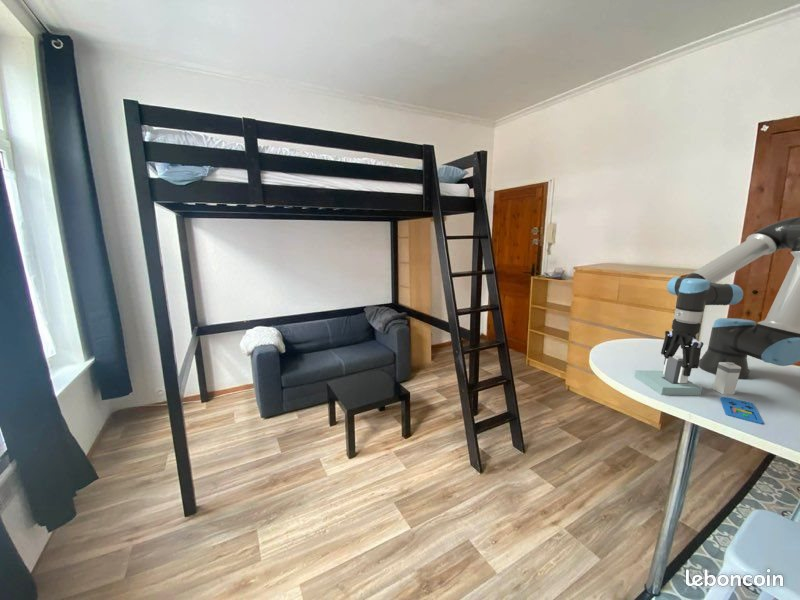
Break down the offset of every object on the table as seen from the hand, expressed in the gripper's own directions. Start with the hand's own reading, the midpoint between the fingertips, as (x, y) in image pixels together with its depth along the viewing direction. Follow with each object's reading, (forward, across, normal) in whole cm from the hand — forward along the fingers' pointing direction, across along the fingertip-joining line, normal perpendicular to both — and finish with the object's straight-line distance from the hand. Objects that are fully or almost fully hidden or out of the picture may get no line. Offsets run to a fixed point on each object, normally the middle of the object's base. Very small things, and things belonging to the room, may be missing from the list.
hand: (674, 378), depth 117 cm
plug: (+4, 0, 0) cm, 4 cm away
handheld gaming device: (+5, +14, +10) cm, 18 cm away
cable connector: (+4, +2, +16) cm, 17 cm away
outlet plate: (+4, -2, -2) cm, 4 cm away
